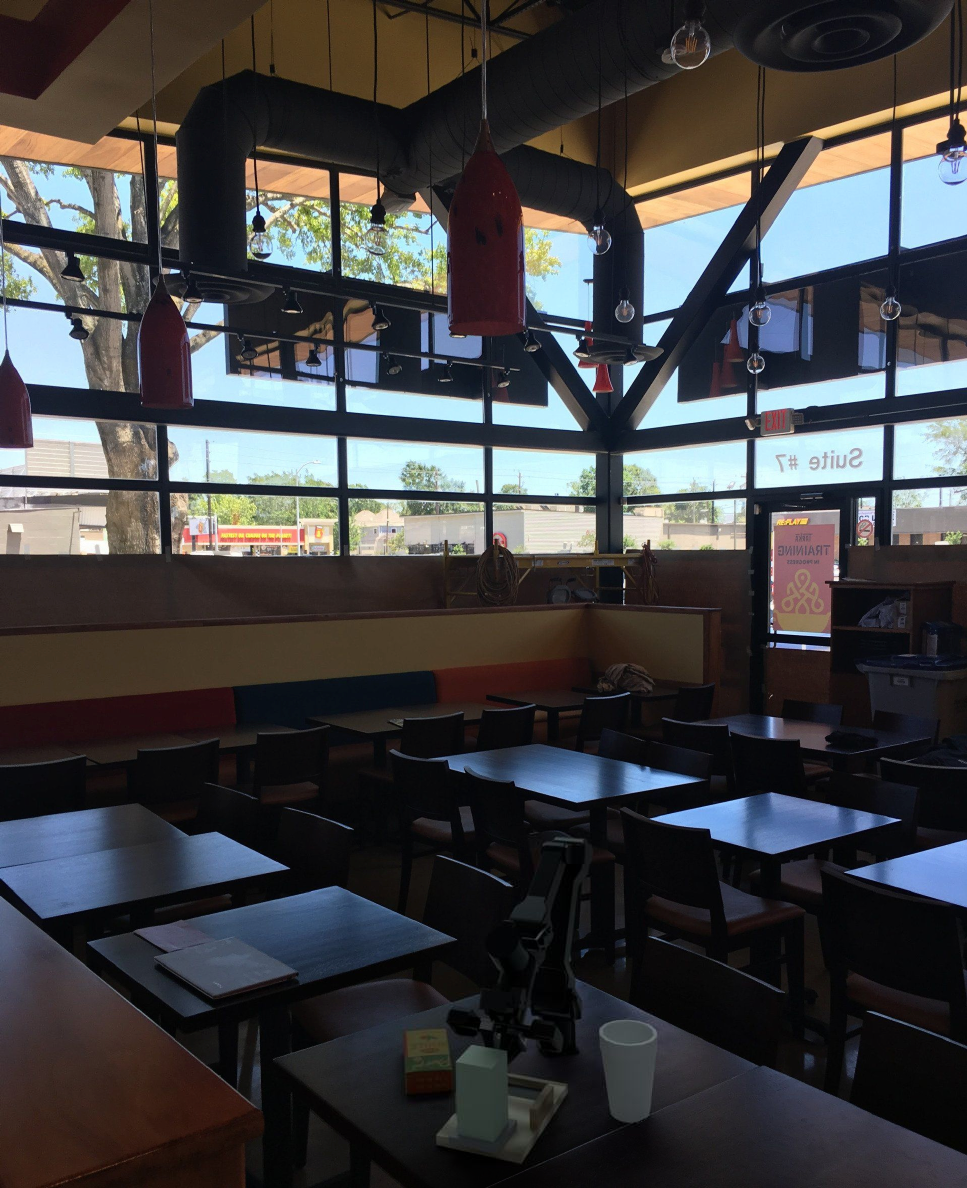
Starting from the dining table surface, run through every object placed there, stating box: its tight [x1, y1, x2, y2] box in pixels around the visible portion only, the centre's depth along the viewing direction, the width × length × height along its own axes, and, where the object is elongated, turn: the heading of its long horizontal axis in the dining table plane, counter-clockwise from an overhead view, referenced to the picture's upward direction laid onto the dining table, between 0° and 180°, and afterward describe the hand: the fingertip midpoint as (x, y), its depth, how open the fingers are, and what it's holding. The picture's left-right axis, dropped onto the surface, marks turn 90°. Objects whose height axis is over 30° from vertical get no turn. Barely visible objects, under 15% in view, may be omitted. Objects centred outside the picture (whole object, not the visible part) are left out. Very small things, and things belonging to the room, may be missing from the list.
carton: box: [402, 1028, 454, 1095], centre depth 173 cm, size 8×16×4 cm, turn 6°
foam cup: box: [598, 1019, 659, 1124], centre depth 157 cm, size 10×9×13 cm
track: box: [435, 1073, 569, 1165], centre depth 156 cm, size 22×14×4 cm, turn 157°
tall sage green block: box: [449, 1044, 517, 1154], centre depth 148 cm, size 8×8×12 cm
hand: (490, 1083), depth 151 cm, fingers closed
